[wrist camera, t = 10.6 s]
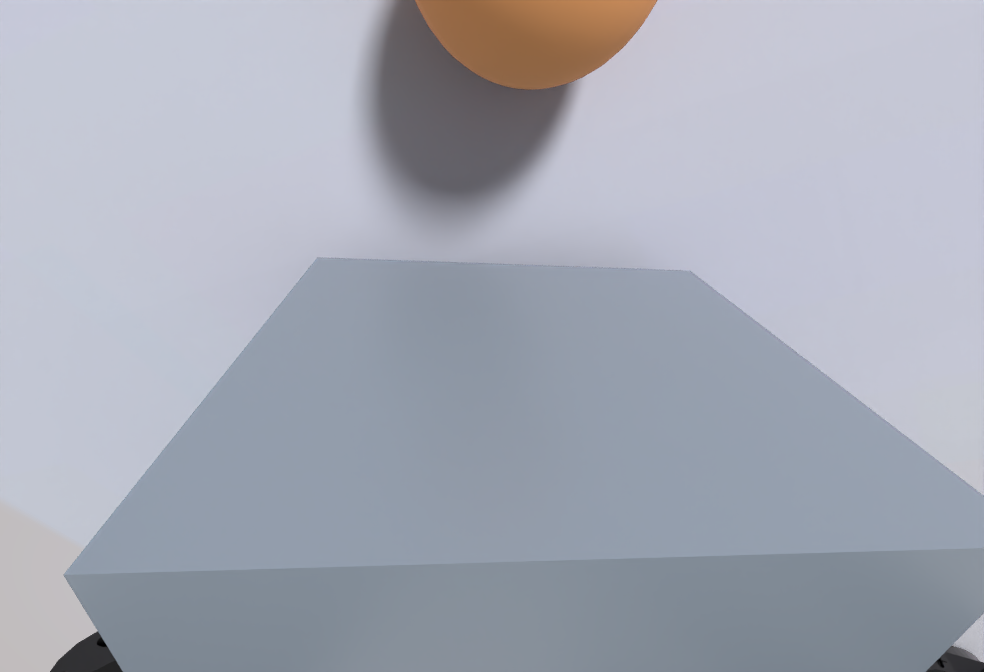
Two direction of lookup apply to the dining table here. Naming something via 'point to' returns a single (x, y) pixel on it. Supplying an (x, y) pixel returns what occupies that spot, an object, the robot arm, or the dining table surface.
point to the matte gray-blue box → (531, 493)
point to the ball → (534, 36)
